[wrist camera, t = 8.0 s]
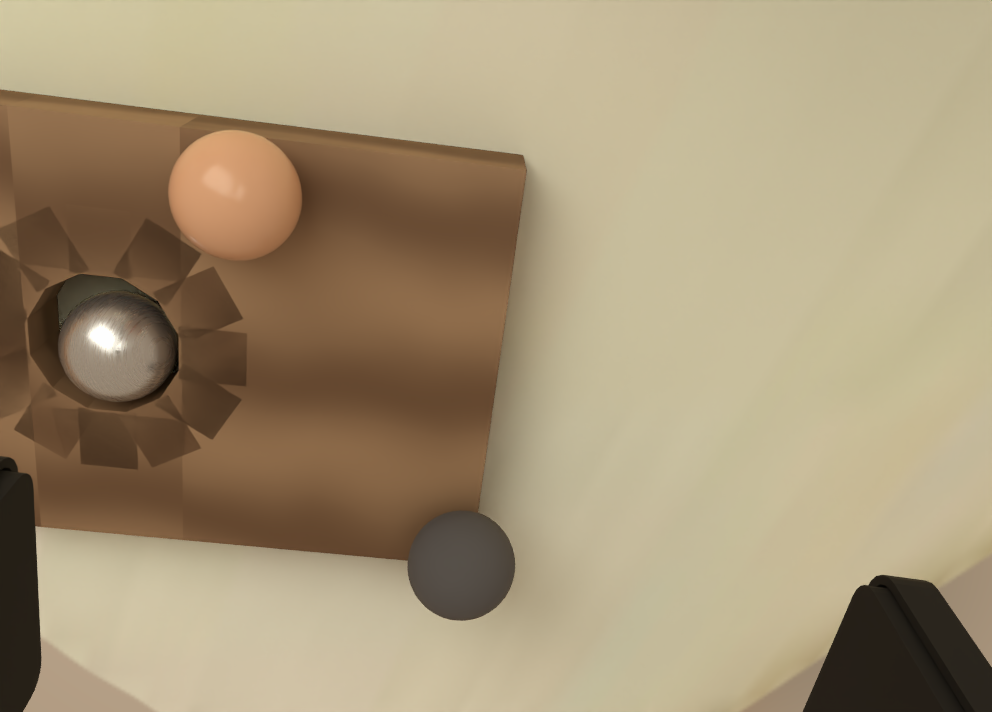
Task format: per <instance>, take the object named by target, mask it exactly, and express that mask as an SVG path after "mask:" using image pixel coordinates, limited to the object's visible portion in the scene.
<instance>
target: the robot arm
mask: <svg viewBox="0 0 992 712" xmlns="http://www.w3.org/2000/svg"><path fill="white" fill-rule="evenodd" d="M40 668H41V642H40V620H39V598H38V576H37V554H36V532H35V510H34V488H33V480H32V478H31V476H30V475H29V474H27V473H21V472H18V467H17V464H16V462H15V460H14V459H12V458H10V457H4V456H0V712H23V710H24V709H25V707H26V705H27V703H28V701H29V700H30V698H31V696H32V694H33V692H34V690H35V687H36V684H37V681H38V678H39V674H40ZM803 712H992V667H991V666H990V664H989V663H988V661H987V660H986V658H985V657H984V656H983V654H982V653H981V651H980V650H979V649H978V647H977V645H976V644H975V643H974V641H973V640H972V638H971V637H970V635H969V634H968V632H967V631H966V629H965V628H964V627H963V625H962V624H961V622H960V621H959V619H958V618H957V616H956V615H955V614H954V612H953V611H952V609H951V608H950V606H949V605H948V603H947V602H946V601H945V599H944V598H943V596H942V595H941V594H940V592H939V590H938V589H937V588H936V587H935V586H934V585H933V584H932V583H930V582H928V581H924V580H917V579H909V578H902V577H894V576H887V575H880V576H876V577H875V578H874V579H873V580H871V582H870V584H869V585H863V586H860V587H859V588H858V589H857V590H856V591H855V593H854V595H853V597H852V599H851V602H850V604H849V606H848V608H847V611H846V613H845V615H844V618H843V620H842V622H841V625H840V627H839V629H838V632H837V634H836V636H835V638H834V641H833V643H832V645H831V648H830V650H829V652H828V655H827V657H826V659H825V662H824V664H823V666H822V668H821V671H820V673H819V675H818V678H817V680H816V682H815V685H814V687H813V689H812V692H811V694H810V696H809V698H808V701H807V703H806V705H805V708H804V710H803Z"/></svg>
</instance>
